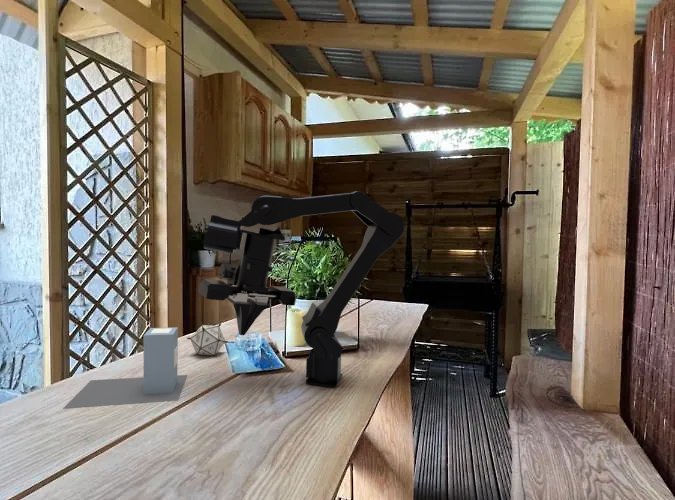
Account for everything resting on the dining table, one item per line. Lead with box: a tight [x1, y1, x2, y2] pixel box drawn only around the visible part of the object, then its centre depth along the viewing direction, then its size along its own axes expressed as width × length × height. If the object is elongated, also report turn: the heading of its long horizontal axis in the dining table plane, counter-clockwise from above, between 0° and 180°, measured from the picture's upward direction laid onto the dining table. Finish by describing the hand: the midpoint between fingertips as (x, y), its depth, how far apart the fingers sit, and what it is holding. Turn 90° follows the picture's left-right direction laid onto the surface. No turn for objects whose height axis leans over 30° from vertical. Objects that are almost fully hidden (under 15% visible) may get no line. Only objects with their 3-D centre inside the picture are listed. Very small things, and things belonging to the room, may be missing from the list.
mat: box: [62, 374, 189, 410], centre depth 72 cm, size 18×12×1 cm, turn 104°
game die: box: [186, 321, 229, 357], centre depth 93 cm, size 9×8×10 cm
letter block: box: [143, 326, 179, 394], centre depth 73 cm, size 5×5×11 cm
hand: (241, 334), depth 77 cm, fingers closed
